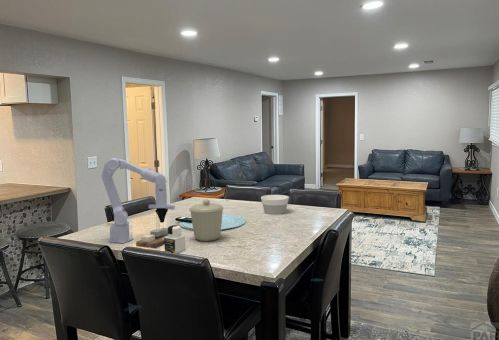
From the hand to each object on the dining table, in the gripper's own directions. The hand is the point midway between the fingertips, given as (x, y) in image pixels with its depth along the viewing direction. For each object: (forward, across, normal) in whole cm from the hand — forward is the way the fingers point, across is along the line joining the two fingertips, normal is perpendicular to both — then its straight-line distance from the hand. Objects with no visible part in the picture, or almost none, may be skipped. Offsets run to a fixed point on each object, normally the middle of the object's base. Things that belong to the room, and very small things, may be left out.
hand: (162, 222), depth 209 cm
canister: (+8, +25, +3) cm, 26 cm away
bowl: (+8, +46, +73) cm, 87 cm away
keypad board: (+8, +2, -6) cm, 11 cm away
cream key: (+7, -1, -13) cm, 15 cm away
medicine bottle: (+9, +17, -19) cm, 27 cm away
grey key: (+6, 0, -6) cm, 9 cm away
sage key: (+7, +1, +1) cm, 7 cm away
